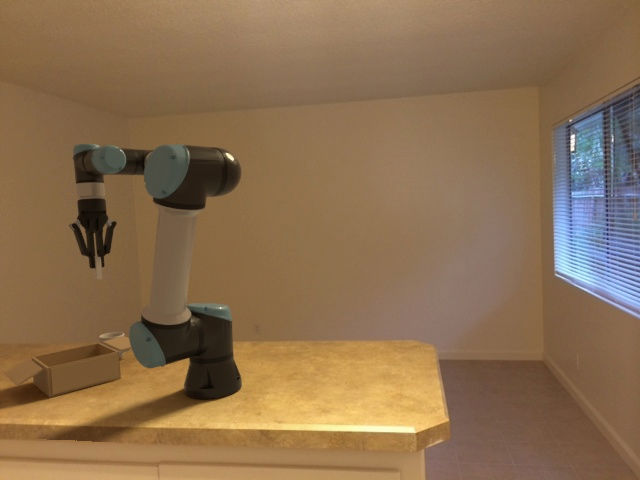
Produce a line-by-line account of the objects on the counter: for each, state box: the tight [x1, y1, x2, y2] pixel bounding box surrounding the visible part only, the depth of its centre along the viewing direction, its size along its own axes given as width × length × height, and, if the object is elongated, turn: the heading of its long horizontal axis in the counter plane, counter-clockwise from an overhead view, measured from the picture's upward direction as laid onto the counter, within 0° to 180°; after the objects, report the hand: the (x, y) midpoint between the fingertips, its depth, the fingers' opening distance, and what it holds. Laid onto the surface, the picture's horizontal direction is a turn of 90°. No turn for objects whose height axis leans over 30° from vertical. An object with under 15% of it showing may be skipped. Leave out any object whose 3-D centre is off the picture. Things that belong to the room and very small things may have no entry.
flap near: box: [4, 357, 43, 387], centre depth 135 cm, size 15×1×7 cm
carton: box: [30, 342, 122, 398], centre depth 144 cm, size 17×19×8 cm
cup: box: [98, 331, 132, 359], centre depth 166 cm, size 11×8×8 cm
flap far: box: [103, 335, 132, 351], centre depth 153 cm, size 15×1×7 cm
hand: (98, 279), depth 145 cm, fingers closed
